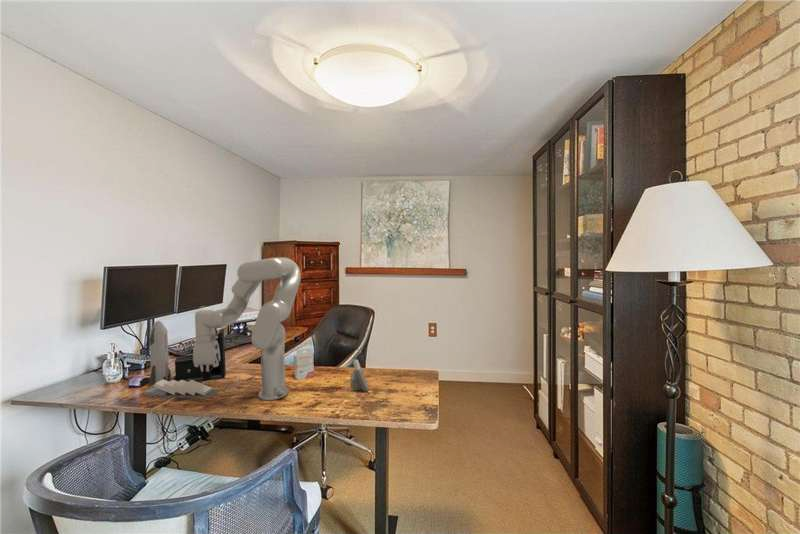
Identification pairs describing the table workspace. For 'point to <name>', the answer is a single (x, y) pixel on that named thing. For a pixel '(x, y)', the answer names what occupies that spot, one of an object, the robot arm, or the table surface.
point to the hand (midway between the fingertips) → (206, 379)
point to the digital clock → (358, 378)
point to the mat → (191, 395)
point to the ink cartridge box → (304, 363)
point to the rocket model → (159, 354)
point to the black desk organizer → (190, 372)
